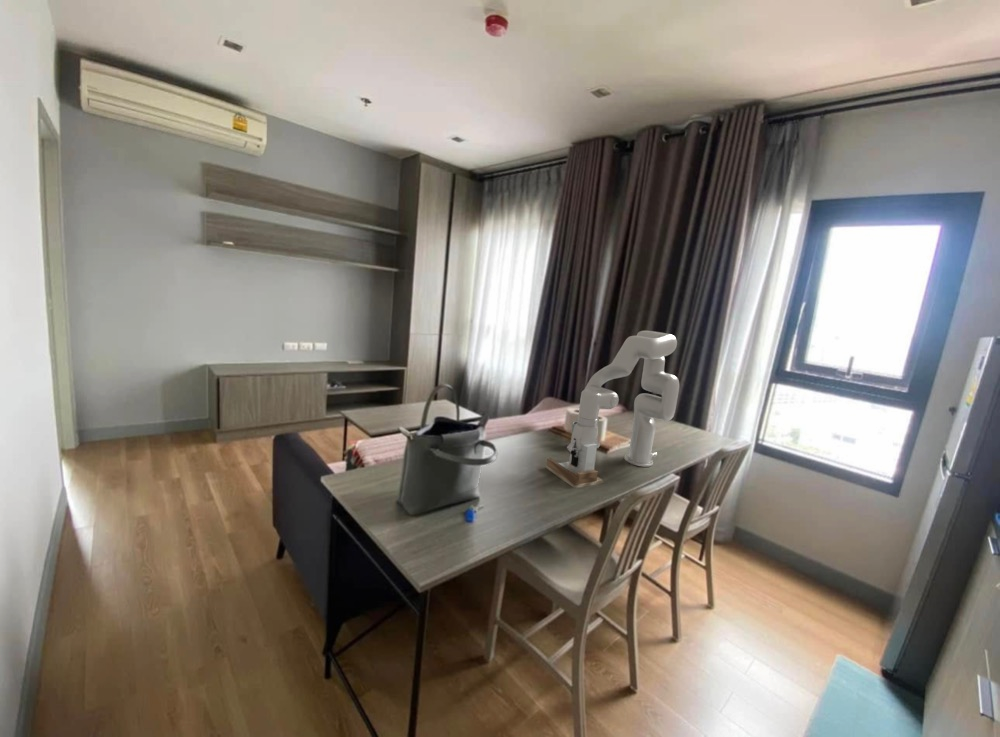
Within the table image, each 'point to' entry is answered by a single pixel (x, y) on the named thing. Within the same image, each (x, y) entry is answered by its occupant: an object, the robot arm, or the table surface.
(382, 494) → the table surface
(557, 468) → the wooden tray
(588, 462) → the small box
